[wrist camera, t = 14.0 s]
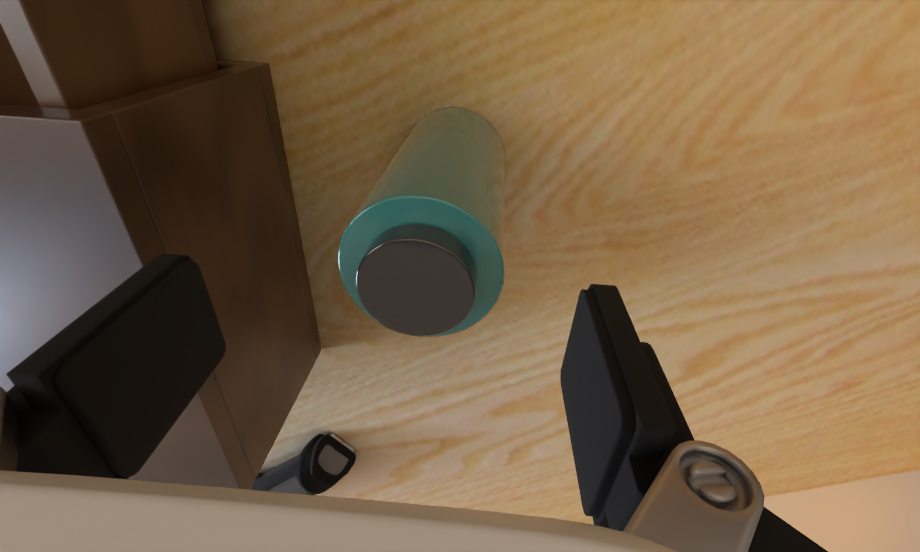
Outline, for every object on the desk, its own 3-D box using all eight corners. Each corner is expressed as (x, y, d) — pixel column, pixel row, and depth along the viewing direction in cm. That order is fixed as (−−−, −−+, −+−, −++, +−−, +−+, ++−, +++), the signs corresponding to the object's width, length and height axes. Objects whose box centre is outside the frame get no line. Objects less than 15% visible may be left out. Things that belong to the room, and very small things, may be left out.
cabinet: (-74, 41, 18) (-505, 79, 10) (269, 63, 17) (80, 120, 10) (89, 328, 27) (-78, 464, 19) (321, 350, 26) (245, 500, 18)
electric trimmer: (206, 486, 37) (183, 524, 34) (324, 426, 30) (306, 468, 28) (242, 507, 38) (223, 545, 36) (362, 454, 32) (348, 496, 29)
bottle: (398, 193, 20) (322, 336, 12) (413, 95, 18) (331, 189, 9) (489, 215, 20) (479, 371, 12) (517, 122, 18) (527, 236, 9)
